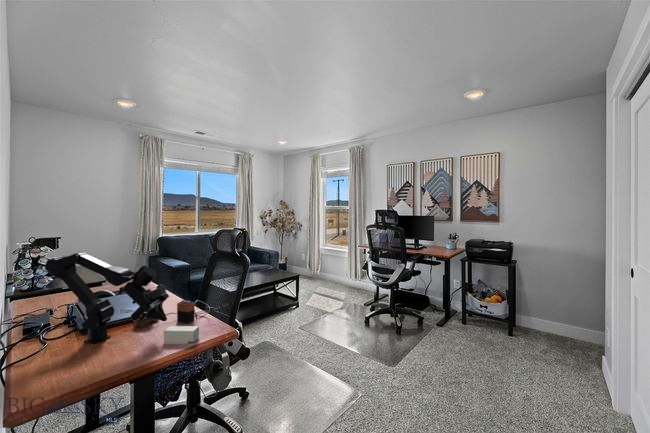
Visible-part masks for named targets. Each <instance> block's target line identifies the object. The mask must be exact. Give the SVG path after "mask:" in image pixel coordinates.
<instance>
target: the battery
mask: <svg viewBox="0 0 650 433" xmlns="http://www.w3.org/2000/svg"><path fill="white" fill-rule="evenodd" d="M176 311H177V312H176V320H177V323H182V324H186V325H188V324H190V323H192V322H194V321H195V302H193V301H191V300H185V299H182V300H181V301H180V302H177V304H176Z"/></svg>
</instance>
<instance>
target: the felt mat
mask: <svg viewBox="0 0 650 433" xmlns="http://www.w3.org/2000/svg"><path fill="white" fill-rule="evenodd" d="M188 344H189V342H164V344H163V345H188Z"/></svg>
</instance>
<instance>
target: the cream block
mask: <svg viewBox="0 0 650 433" xmlns="http://www.w3.org/2000/svg"><path fill="white" fill-rule="evenodd" d="M199 335H200V326H199V325H198V326H197V325H196V326H195V325H189V326H188V325H185V326H184V325H170V326H168V327H167V328H165V329H164V330H163V342H164V343H165V342H190V343H192V342H193V343H195V342H196V341H197V340H198V338H199Z"/></svg>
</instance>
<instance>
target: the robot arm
mask: <svg viewBox="0 0 650 433" xmlns="http://www.w3.org/2000/svg"><path fill="white" fill-rule="evenodd" d="M77 265H79V266H81V267H83V268H85V269H87V270H89V271H92V272H94V273H96V274H98V275H100V276H102V277H103V278H104V279H105V280H106V282H108V283H109V284H111V285H112V286H114V287H119V286H121V287H119V288H118V289H119V291H118V295H122V294H126V295H127V296H128V297H129V298H130V299H131V300H132V301H131V303H132V304H133V305H134V304H136V305H137V306H138V307H137V309H135V311H134V312H132V314H130V319H131V320H132V321H133V322H134V323H135V321H136V320H138V319H139V318H140V316H141V315H142V314H143V313H146V315H145V316H144V317H145V318H146V317H149V318H154V320H155V319H158V320H159V321H162V322H166V321H167V320H168V318H167V317H168V316H167V315H166V313H165V311H164V308H163V303H165V301H166V300H168V298H169V297H170V295H169V294H168V293H167V287H166V286H165V285H164V284H163V283H161V284H158V285H157V286H156V288H155V289H154V290H152V289H149V288H148V289H146V288H145V287H147V286H149V284H150V283H152V281H154V279H156V278H157V276H158V272H157V271H156V270H155V269H154V268H152V267H150V266H147V265H145V264H144V265H141V267H140V268H139V269H138V270H137V271H132V270H131V269H129V268H126V267H121V266H114V265H111V264H109V263H107V262H104V261H102V260H100V259H98V258H96V257H94V256H91V254H90V255H89V254H88V253H87V252H84V251H82V252H81V251H80V252H76V253H73V254H70V255H67V256H66V255H65V256H60V257H55V258H50V259H48V260H47V261H46V262H45V267H44V269H45V270H46V272H48V274H50V275H51V276H52V277H54V278H57V279H60V280H62V282H63V283H64V284H65V285H66V287H68V288H69V290H70V291H71V292H72V293H73V294H74V296H76V298H77V299H78V301H79V302H81V304H82V305H84V307H85V315H86V317H87V318H86V320H85V321H84V322H82V323H81V326H82V329H83V330H87V338H86V339H84V340H83V342H84V343H90V344H94V345H95V344H98V343H100V342H102V341H105V340H107V339H109V338H111V337H112V336H111V335H110V334H108V324H107V322H110V321H112V320H111V319H112V317H113V316H114V314H115V308H114V304H112V303H111V302H110V300H109V299H108V298H105V299H104V300H102V299H100V298H99V297H98V296H97V295H96V294H95V293H94V291H93V290H92V289H91V288H90V287H89V286H88V284H87V283H86V282H85V281H84V279H83V278H82V277H81V276H80V274H78V272H77ZM122 285H123V286H122Z"/></svg>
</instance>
